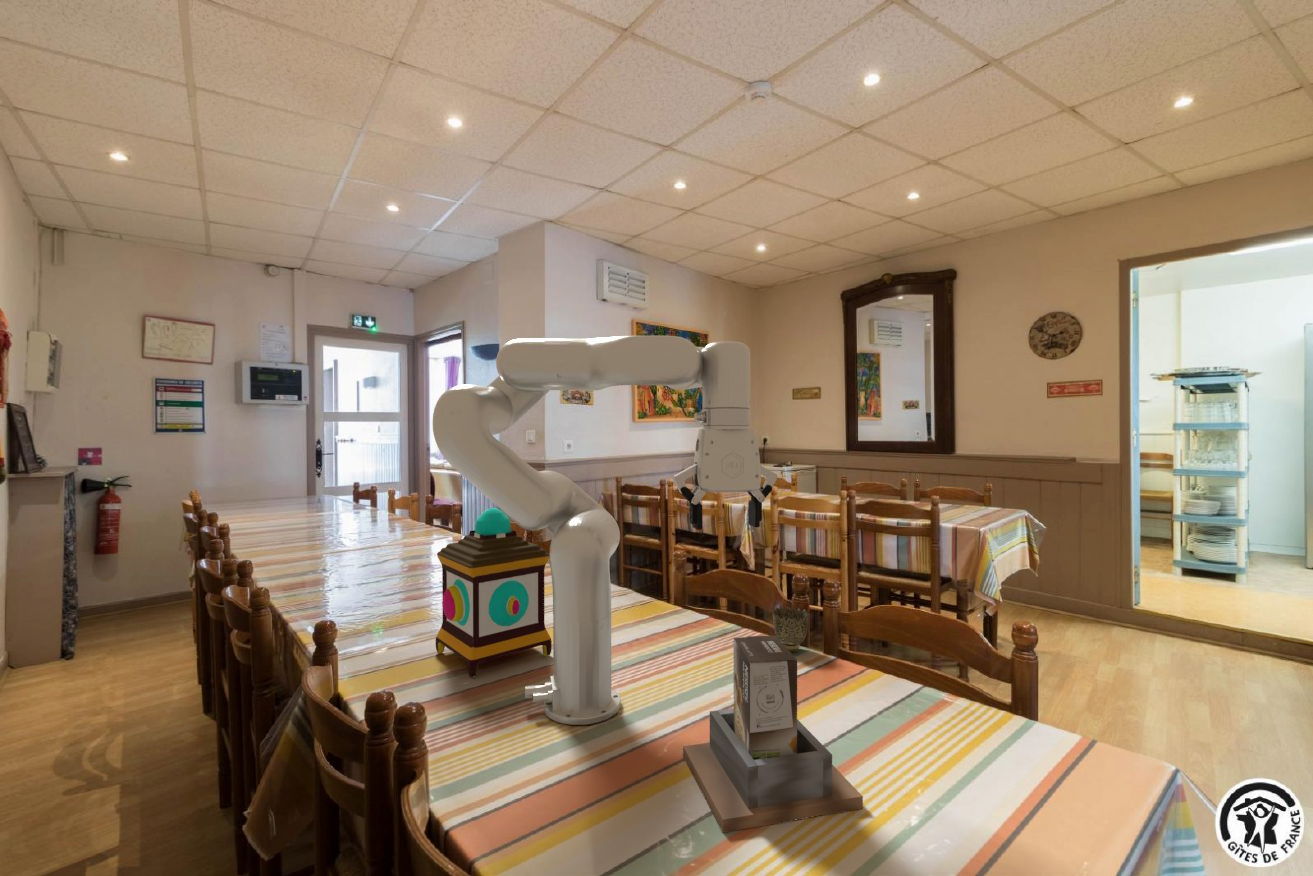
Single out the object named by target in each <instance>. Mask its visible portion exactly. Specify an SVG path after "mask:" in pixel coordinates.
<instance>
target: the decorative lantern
mask: <svg viewBox="0 0 1313 876" xmlns="http://www.w3.org/2000/svg"><path fill="white" fill-rule="evenodd" d="M510 520H511V519H510V518H509V517H508V516H507V515H506V514H505V513H504V512H503V511H501V510H500V509H499V508H498V507H497V508H495V507H490V508H487V509H485V510H484V511H483V512H482V513H481V514H480V515H479V516H478V517H477V518H476V520H475V525H474V530H469V534H467V535H465V536H464V537H463V538H462V539H459V540H458V541H457V542H451V543H448V544H447V545H446V546H445V547H443V548H441V549H440V551H438V552H436V556H437V559H438V561H439V562H440V564H441V569H442V571H441V572H442V575H441V576H442V587H441V588H442V589H441V590H442V601H441V603H442V605H441V606H442V623H441V626H440V628H439V630H438V632H437V634H436V636H435V650H436V653H438V654H443V653H444V652H445V648H446V649H448V650H449V651H451V652H452V653H454V654H455V655H456V656H457V657H460V659H462V660H464V661H465V663H466V664H467V671H468V676H469V677H470V678H471V679H474V678H476V676H477V671H478V666H479V665H480V664H481V663H482V662H485V661H489V660H492V659H496V658H500V657H503V656H507V655H510V654H515V653H518V652H522V651H525V650H528V649H533V648H537V647H540V646H541V647H542V654H543V656H544V657H549V656H550V655H551V653H552V649H553V648H552V647H553V644H552V643H553V642H552V638H551V636H550V634H549V632H548V631H547V628H546V625H545V624H546V623H545V568H546V566H547V563H548V561H549V560H550V558H549V553H548V552H546V550H545V549H544V548H541V547H540V545H539V544H535V543H532V542H529V541H528V540H526V539H523V537H522V536H521V535H518V534H517V531H516V530H512V529H511V521H510Z"/></svg>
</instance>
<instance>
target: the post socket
mask: <svg viewBox="0 0 1313 876" xmlns="http://www.w3.org/2000/svg"><path fill="white" fill-rule="evenodd" d="M682 757H683V759H684V761H685V764H686V765H687V767H688V769H689V770H690V773H691V774H692V776H693V778H694V780H695V783H696V784H697V786H698V787H699V789H700V792H701V794H702V797H704V800H705V801H706V803H707V805H708V807H709V809H710V811H711V813H712V815H713V818H715V821H716V823H717V824H718V827H719V828H720V830H721V833H728V832H735V831H741V830H746V829H752V828H753V829H754V828H757V827H764V826H769V825H775V824H780V823H781V824H782V823H786V821H788V822H791V821H790V820H793V821H796V820H795V819H799V820H803V819H802V818H805V819H807V818H806V817H811V818H813V817H812V816H817V817H819V816H818V815H822V816H827V815H826V814H828V815H832V814H833V813H834V814H839V813H845V812H844V811H846V812H849V810H851V811H857V810H861V809H862V810H863V809H864V808H863V805H864V803H863V802H864V796H863V795H862V793H860V791H858V789H856V788H855V786H853V784H852V783H851V782H849V780H848V779H847V778H846V777H845V776H844V775H843V774H842V772H841V771H840V770H838V769H837V768H836V766H835V765H834V764H833V754H832V753H831V752H830V751H829V750H828V749H827V748H826V747H825V746H824V745H823V744H822V743H821V741H819V740H818V739H817V738H816V737H815V736H814V735H813V733H812V732H811V731H810V730H808V728H807V727H806V726H805V725H804V724H803V723H802V722H801V721H800V720H799V719H798V718H797V754H792V755H785V756H778V757H771V758H764V759H757V760H754V759H753V758H752V757H751V755H750V754H749V753H748V751H747V750H746V748H745V747H744V746H743V744H742V743H741V742H740V740H739V739H738V737H737V736H736V735H735V733H734V708H727V709H726V708H725V709H718V710H712V711H711V710H710V711H709V742H705V743H697V744H688V745H683V746H682ZM837 812H839V813H837ZM834 814H833V815H834Z"/></svg>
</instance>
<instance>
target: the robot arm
mask: <svg viewBox="0 0 1313 876" xmlns="http://www.w3.org/2000/svg"><path fill="white" fill-rule="evenodd" d="M495 359H496V360H495V367H496V370H497V374H498V376H497V377H496V378H495V379H493V381H492V382H490V383H489V385H487V386H482V385H479V384H478V385H477V384H459V385H456V386H453V387H451V388H449V389H447V390H445V391H444V392H443V393H442V394H441V395H440V396H439V398H438V400H436V404H435V406H434V409H433V413H432V432H433V437H434V442H435V444H436V445H437V449H438V450H439V452H440V454H441V455H442V456H443V457H444V459H445V461H447V462H448V464H449V465H450V466H451V467H452V468H453V469H454V470H455V471H456V472H458V474H459V475H461V476H462V477H463V478H464V479H465V480H466V481H468V482H469V483H470V484H471V485H473V486H474V487H475V488H476V489H477V490H478V491H480V493H481V494H483V496H485V498H487V499H488V500H489V501H490V502H491V503H492V504H494V505H495V506H496V507H497V509H499V510H501V511H502V512H503V513H504V514H505V515H506V516H507V517H508V518H509V520H511V521H512V522H513V523H515V524H516V526H518V527H520V528H522V529H524V530H527V531H539V530H543V529H548V530H549V531H550V532H551V533H552V534H553V536H552V537H551V542H550V545H549V553H548V554H549V567H550V574H551V575H550V576H551V585H552V615H553V619H552V620H553V623H552V625H553V627H552V628H553V631H552V632H553V635H552V636H553V642H552V643H553V644H552V647H553V648H552V649H553V673H552V674H553V675H550V677H549V678H550V681H546V682H544V684H541V685H540V684H537V685H536V684H531V685H525V686H524V698H525V699H526V700H527V699H532V703H533V704H539V703H543V711H544V714H545V715H546V716H547V717H548V718H549V719H551V720H553V721H554V722H557V723H560V724H565V725H573V726H584V725H591V724H593V725H594V724H598V723H600V722H603V721H606V720H608V719H610V718H611V717H613V716H615V715H616V714H617V713H618V712H619V711H620V708H621V704H622V700H621V695H620V694H619V693H618V692H617V691H616V690H615V689H613V688H612V586H611V585H612V584H611V583H612V582H611V574H610V562H611V561H610V559H611V557H612V556H613V554H614V553H616V550H617V548H618V546H619V544H620V541H621V533H620V532H621V531H620V528H619V525H618V523H617V521H616V519H615V518H614V517H613V515H612V514H610V512H609V511H608V510H606V508H604V507H603V506H602V505H600V503H598V502H597V501H596V500H595V499H593V498H592V497H591V496H590V495H589V494H588V493H586V491H584V490H583V489H582V488H581V487H579V486H578V485H577V484H576V483H575V482H574V481H573V480H572V479H570V478H568V476H565V475H564V474H561V473H560V472H557V471H554V470H541V471H539V470H538V469H535V468H534V467H533V466H531V465H530V464H529V463H528V462H527V461H525V460H524V459H523V458H521V457H520V456H519V455H518V454H517V453H516V452H515V451H514V450H512V449H511V448H510V447H509V446H507V445H506V444H504V443H503V442H502V441H499V440H498V439H497V438H496V437H495V436H494V435H498V434H501V433H504V432H505V431H507V430H508V429H510V428H511V427H512V426H514V424H515V423H517V422H518V421H519V420H520V419H521V418H522V417H524V416H525V415H526V414H527V413H528V412H529V410H531V409H532V408H534V406H535V405H537V404H538V403H539V402H540V401H541V400H542V399H543V398H544V397H545V396H546V395H547V394H548V393H549V392H550V391H577V392H578V391H581V392H583V391H586V392H589V391H590V392H591V391H600V390H601V391H602V390H603V389H605V388H609V387H615V386H663V387H664V386H665V387H666V386H667V387H668V388H669V389H673V390H677V391H684V390H685V391H686V390H692V389H698V388H702V409H701V410H700V411H699V412H694V416H693V417H694V418H693V419H694V421H695V422H699V423H700V424H701V425H700V426H702V429H701V428H700V429H698V431H697V437H696V442H695V449H694V457H693V465H690V466H688V467H687V468H685V469H683V470H681V471H680V472H678V473H676V474H674V475H673V477H672V479H673V482H674V484H675V486H676V488H677V489H678V492H679V494H680V495H682V497H683V498H684V499H685V500H686V501H687V502H688V503H689V505H688V506H689V507H688V510H689V513H688V514H689V517H688V518H689V519H688V520H689V523H690V524H691V527H692V528H694V529H695V530H698V531H700V530H702V529H703V505H702V504H701V501H702V499H703V498H704V497H705V495H706V494H707V493H747V494H748V496H749V497H750V500H748V503H747V504H748V505H747V507H748V508H747V511H748V512H747V513H748V514H747V523H748V525H749V526H751V527H753V528H760V527H761V522H762V520H763V503H764V502H765V500H766V498H767V497H768V495H769V494H770V493H771V492H772V491H773V487H774V485H775V483H776V481H777V480H778V474H777V473H775V472H773V471H771V470H770V469H767V468H766V467H764V466H762V465H761V457H760V450H759V442H758V435H757V432H756V429H755V428H753V429H752V428H751V350H750V348H749V346H748V345H747V344H746V343H744V342H741V341H733V340H732V341H731V340H730V341H728V340H727V341H713V342H711V343H708V344H707V345H705V346H696V345H695V343H693V342H692V341H690V340H689V339H687V338H684V337H682V336H678V335H677V336H676V335H621V336H609V337H607V336H605V337H604V336H603V337H593V338H592V337H591V338H590V337H588V338H585V337H584V338H562V337H561V338H557V337H556V338H555V337H554V338H549V337H547V338H546V337H541V338H540V337H539V338H538V337H537V338H536V337H535V338H534V337H533V338H532V337H530V338H528V337H525V338H516V339H511V340H509V341H508V342H506V343H504V344H503V345H502V346H501V347H500V348H499V350H498V352H497V356H496V358H495ZM691 477H693V478H692V479H693V485H694V488H693V489H692V490H690V489H689V487H687V483H686V480H687V479H689V478H691ZM762 477H764V482H763V484H762ZM761 484H762V485H761Z"/></svg>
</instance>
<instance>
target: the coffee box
mask: <svg viewBox="0 0 1313 876" xmlns="http://www.w3.org/2000/svg"><path fill="white" fill-rule="evenodd" d="M732 642H733V709H734V733H735V735H736V736H737V737H738V739H739V740H740V742H741V743H742V744H743V746H744V747H745V748H746V750H747V751H748V753H749V754H750V755H751V757H752V758H753V759H754V760H757V759H764V758H771V757H778V756H785V755H792V754H797V719H798V659H797V658H796V656H794V655H793V654H792V653H793V652H790V651H789V650H788V649H787V648H786V647H785V646H784V645H783V643H782V642H781V641H780V640H779V639H778V638H777V637H776V635H753V636H749V635H748V636H745V637H733V641H732Z"/></svg>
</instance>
